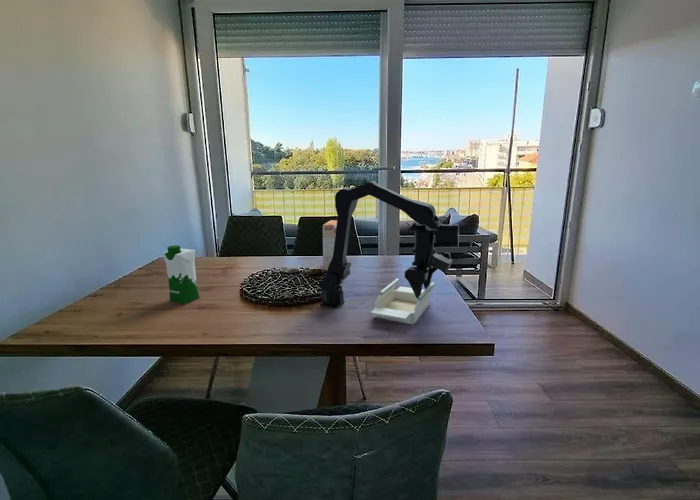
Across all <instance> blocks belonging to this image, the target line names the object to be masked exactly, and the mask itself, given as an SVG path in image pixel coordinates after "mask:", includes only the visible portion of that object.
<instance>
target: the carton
mask: <svg viewBox="0 0 700 500" xmlns="http://www.w3.org/2000/svg"><path fill="white" fill-rule="evenodd" d="M424 290H425V289H422V291H421V294H422V292H423V291H424ZM430 298H431V297H429V298H428V299H427V300H426V301H425V302H424V304H423V305H422V306H421V307H420V308H419V309H418V311H417V312H416V311H414V309H415V306H416V303H417V300H418V298H416V296H415V294H414V292H413V290H412V288H411V287H408V286H399V287H398V288H397V289H394V290H393V292H391V293H390V294H389V295H388V296H387V297H385V298H384V299H383V300H382V301H381V302H380V303H378V304H377V305H375V304H374V306H373V310H372V311H371V312H370V314H372V315H373V318H375V319H382V320H386V321H392V322H398V323H402V324H403V323H404V324H408V325H415V323H417V321H418V320H419V319H420V317H421V316H422V315H423V313H424V312H425V311H426V310H427V309H428V307H429V306H430V302H431V300H430Z"/></svg>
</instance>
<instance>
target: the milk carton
mask: <svg viewBox="0 0 700 500" xmlns="http://www.w3.org/2000/svg"><path fill="white" fill-rule="evenodd" d="M166 247H167V248H166V249H167V251H164V252H162V257H163V259H164V262H165V265H166V272H167V273H166V274H167V282H168V288H169V289H168V291H169V302H170V303H174V304H180V305H186V304H188V303H190V302H193V301H196V300H197V299H200V294H199V289H198V284H197V283H198V282H197V274H196V272H197V271H196V264H195V263H196V262H195V260H196V259H195V257H196V249H190V248H189V249H188V248H181V245H170V246H166Z"/></svg>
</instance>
